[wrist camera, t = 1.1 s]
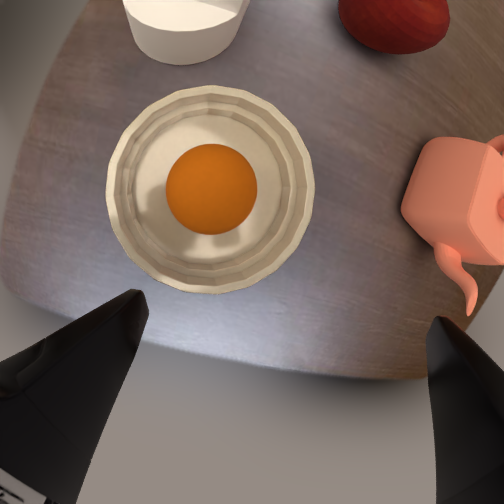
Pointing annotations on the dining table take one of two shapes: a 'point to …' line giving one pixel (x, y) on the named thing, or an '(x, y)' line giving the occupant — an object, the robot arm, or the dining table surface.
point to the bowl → (155, 202)
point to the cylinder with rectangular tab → (184, 27)
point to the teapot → (459, 205)
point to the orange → (211, 189)
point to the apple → (396, 23)
